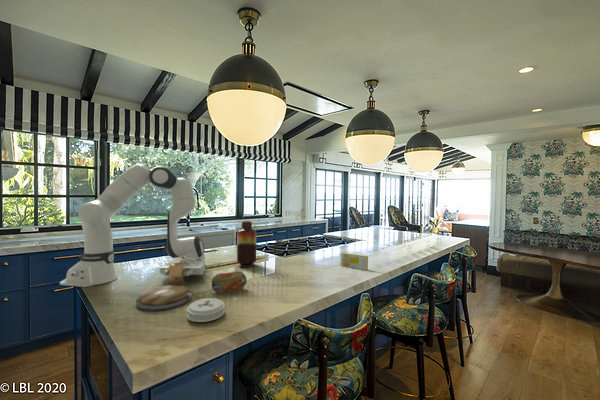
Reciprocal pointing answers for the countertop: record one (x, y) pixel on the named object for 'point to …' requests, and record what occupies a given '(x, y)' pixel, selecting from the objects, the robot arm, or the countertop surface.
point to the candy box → (354, 261)
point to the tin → (228, 282)
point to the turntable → (164, 295)
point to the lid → (205, 310)
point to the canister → (176, 274)
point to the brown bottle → (246, 245)
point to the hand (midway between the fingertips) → (175, 274)
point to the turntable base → (162, 307)
